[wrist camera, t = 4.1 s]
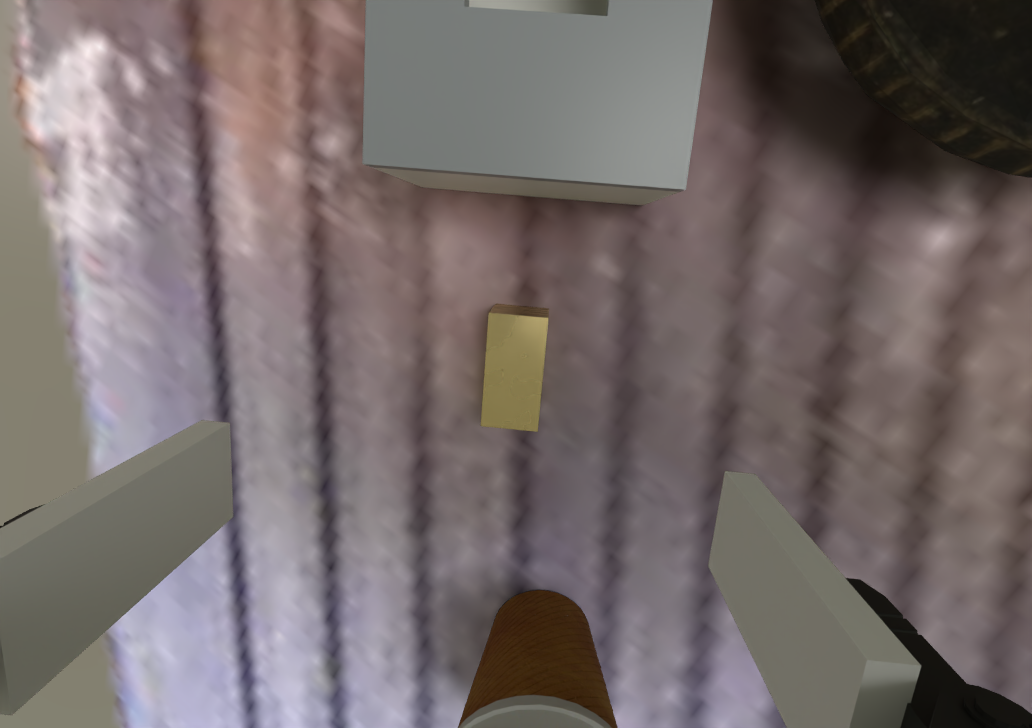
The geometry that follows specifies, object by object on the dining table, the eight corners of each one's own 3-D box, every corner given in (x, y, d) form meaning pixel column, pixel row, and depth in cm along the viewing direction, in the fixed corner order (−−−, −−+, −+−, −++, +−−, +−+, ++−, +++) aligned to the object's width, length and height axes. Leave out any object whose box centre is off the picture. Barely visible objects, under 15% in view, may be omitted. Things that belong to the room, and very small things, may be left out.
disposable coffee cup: (475, 556, 35) (438, 713, 24) (626, 578, 35) (663, 747, 23) (461, 683, 38) (420, 884, 26) (603, 704, 37) (626, 917, 26)
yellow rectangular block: (539, 408, 33) (537, 431, 29) (488, 404, 33) (480, 426, 29) (548, 308, 32) (548, 318, 28) (496, 303, 32) (488, 312, 28)
